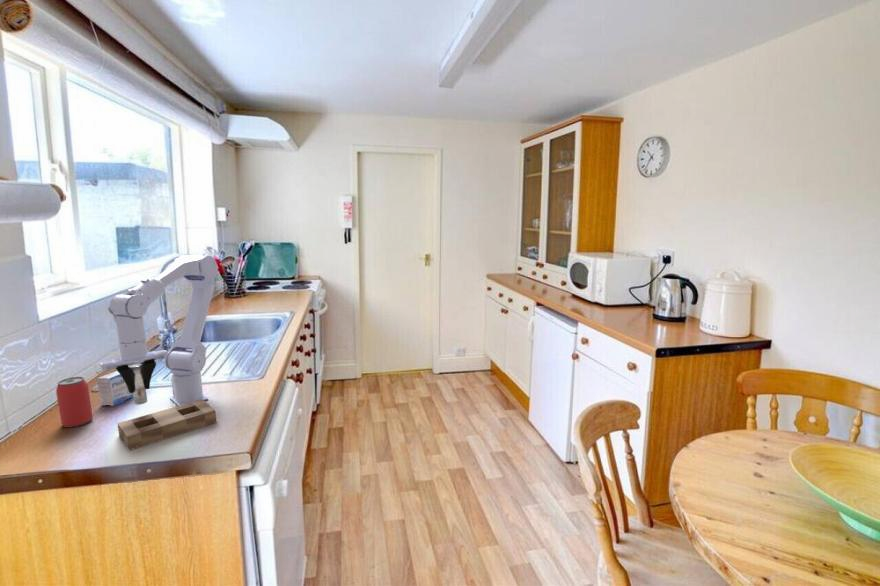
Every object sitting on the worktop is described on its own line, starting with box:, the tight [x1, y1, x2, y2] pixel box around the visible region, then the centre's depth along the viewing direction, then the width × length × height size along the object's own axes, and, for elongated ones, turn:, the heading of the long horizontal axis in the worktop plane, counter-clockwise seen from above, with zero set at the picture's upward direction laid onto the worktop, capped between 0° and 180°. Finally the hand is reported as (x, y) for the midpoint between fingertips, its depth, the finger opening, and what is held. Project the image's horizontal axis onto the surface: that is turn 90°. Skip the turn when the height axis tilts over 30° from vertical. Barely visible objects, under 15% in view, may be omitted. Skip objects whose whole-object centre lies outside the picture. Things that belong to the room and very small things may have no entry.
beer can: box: [55, 376, 94, 428], centre depth 120 cm, size 7×7×12 cm
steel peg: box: [128, 363, 148, 406], centre depth 118 cm, size 3×3×10 cm
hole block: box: [116, 400, 217, 451], centre depth 117 cm, size 10×20×4 cm, turn 136°
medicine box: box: [96, 370, 133, 407], centre depth 134 cm, size 8×4×9 cm, turn 168°
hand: (139, 390), depth 118 cm, fingers closed on steel peg, 3 cm apart
